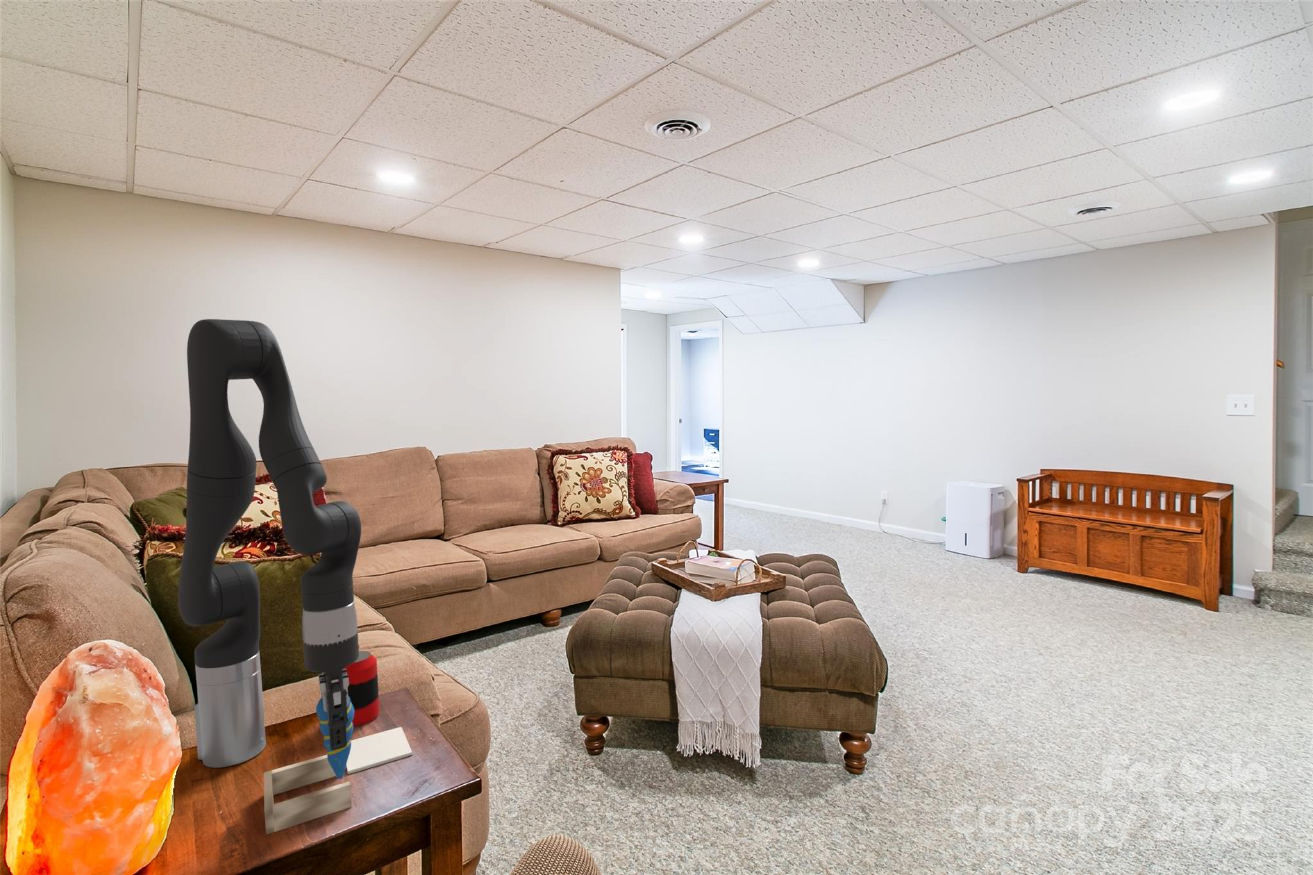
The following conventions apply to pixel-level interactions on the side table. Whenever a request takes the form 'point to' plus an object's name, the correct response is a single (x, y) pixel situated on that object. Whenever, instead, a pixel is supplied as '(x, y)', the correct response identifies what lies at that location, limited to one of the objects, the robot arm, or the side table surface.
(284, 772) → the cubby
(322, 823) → the side table surface
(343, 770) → the ornament
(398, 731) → the pad
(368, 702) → the soda can
